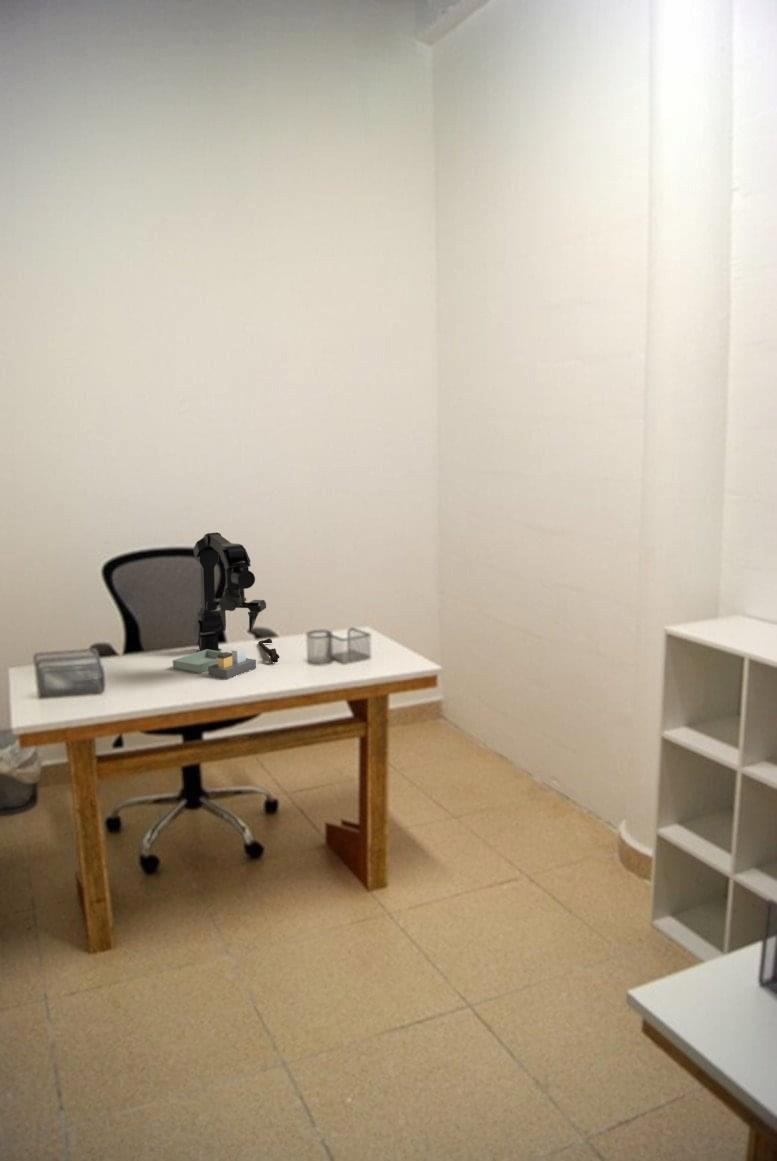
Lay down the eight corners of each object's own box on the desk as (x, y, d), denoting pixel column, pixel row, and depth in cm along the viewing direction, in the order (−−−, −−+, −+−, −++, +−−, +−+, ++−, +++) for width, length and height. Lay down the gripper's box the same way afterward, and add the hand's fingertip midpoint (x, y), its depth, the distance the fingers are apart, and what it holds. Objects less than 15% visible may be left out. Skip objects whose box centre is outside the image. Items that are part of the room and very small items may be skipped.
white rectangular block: (232, 670, 292) (231, 650, 291) (240, 667, 296) (239, 647, 294) (238, 671, 291) (237, 651, 290) (246, 668, 294) (245, 648, 293)
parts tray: (173, 669, 296) (172, 660, 295) (207, 657, 309) (206, 649, 308) (199, 674, 289) (199, 665, 289) (233, 662, 302) (232, 653, 302)
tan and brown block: (218, 675, 287) (217, 654, 286) (227, 672, 290) (226, 651, 289) (224, 676, 286) (223, 655, 284) (233, 673, 289) (231, 652, 288)
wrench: (272, 648, 327) (288, 663, 299) (258, 650, 326) (273, 666, 298) (270, 634, 327) (286, 648, 298) (257, 636, 325) (271, 650, 297)
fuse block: (208, 675, 287) (208, 666, 287) (238, 665, 299) (237, 656, 298) (227, 679, 283) (226, 670, 282) (256, 668, 294) (255, 659, 294)
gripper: (197, 587, 281) (200, 635, 284) (252, 589, 277) (255, 637, 279) (212, 581, 291) (214, 627, 294) (265, 582, 287) (267, 629, 290)
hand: (237, 630), depth 289 cm, fingers open, 9 cm apart
